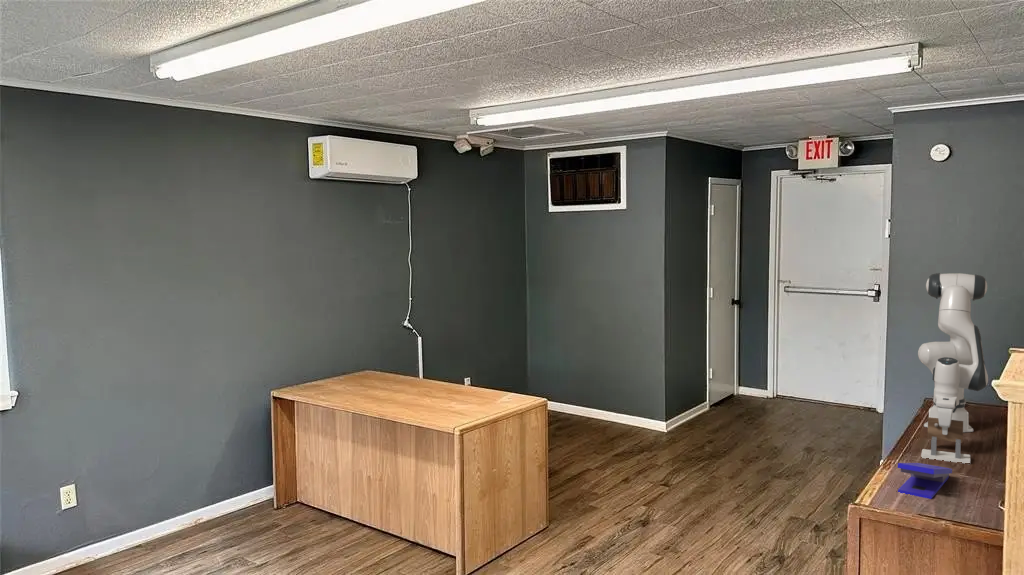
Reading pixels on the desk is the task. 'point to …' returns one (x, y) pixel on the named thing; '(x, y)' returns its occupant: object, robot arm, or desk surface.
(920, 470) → the blue stacked plate part
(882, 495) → the desk surface
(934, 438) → the white and grey rack
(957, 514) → the desk surface
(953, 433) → the door panel
